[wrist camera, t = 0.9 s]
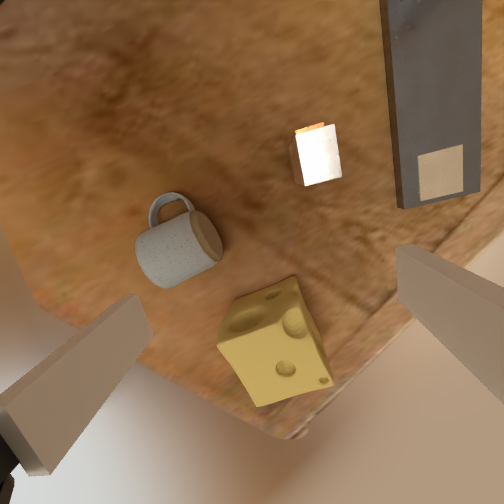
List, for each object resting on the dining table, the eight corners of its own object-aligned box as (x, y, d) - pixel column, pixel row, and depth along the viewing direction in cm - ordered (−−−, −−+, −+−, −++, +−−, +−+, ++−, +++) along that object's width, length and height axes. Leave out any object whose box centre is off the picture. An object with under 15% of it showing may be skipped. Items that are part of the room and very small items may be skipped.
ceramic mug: (231, 250, 33) (219, 271, 25) (183, 274, 34) (158, 300, 27) (191, 179, 30) (165, 179, 23) (141, 209, 32) (102, 217, 25)
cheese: (294, 272, 33) (303, 311, 23) (322, 333, 36) (340, 391, 26) (228, 298, 35) (212, 344, 26) (259, 354, 38) (254, 414, 28)
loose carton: (286, 143, 28) (293, 126, 19) (312, 136, 28) (333, 115, 18) (294, 182, 29) (305, 186, 20) (319, 176, 29) (342, 176, 19)
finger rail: (376, -40, 23) (473, -243, 12) (469, -77, 21) (675, -342, 10) (397, 207, 29) (472, 226, 18) (469, 190, 28) (596, 200, 17)
